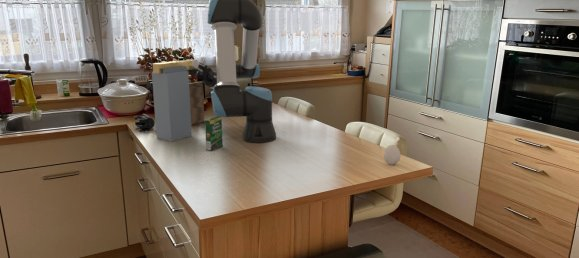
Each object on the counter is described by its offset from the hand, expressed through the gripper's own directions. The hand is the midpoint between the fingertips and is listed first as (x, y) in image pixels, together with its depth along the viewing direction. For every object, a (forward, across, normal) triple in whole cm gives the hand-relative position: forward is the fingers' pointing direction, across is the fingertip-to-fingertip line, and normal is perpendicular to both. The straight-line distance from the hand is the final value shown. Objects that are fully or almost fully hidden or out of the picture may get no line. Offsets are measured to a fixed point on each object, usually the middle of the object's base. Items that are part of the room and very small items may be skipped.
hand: (182, 61), depth 201 cm
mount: (-10, 0, -33) cm, 34 cm away
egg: (-30, -96, -22) cm, 103 cm away
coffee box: (-8, -28, -34) cm, 45 cm away
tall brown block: (-32, +16, -21) cm, 41 cm away
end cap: (-12, +23, -32) cm, 42 cm away
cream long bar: (+2, 0, -5) cm, 5 cm away
